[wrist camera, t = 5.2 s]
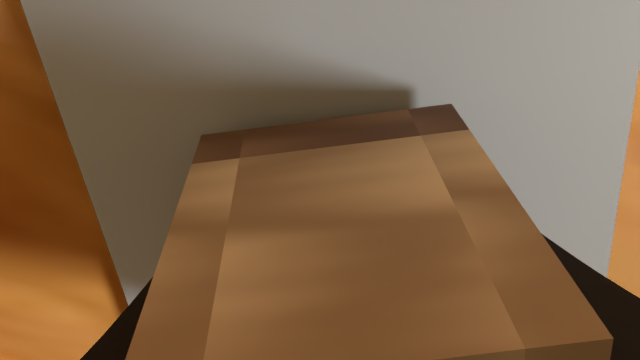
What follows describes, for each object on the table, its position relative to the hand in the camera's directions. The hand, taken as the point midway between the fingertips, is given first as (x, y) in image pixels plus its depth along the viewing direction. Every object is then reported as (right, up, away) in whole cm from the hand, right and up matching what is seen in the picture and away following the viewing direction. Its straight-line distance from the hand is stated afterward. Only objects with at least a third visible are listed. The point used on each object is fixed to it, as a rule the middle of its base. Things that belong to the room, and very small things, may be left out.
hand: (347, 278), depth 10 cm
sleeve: (0, +1, +2) cm, 2 cm away
